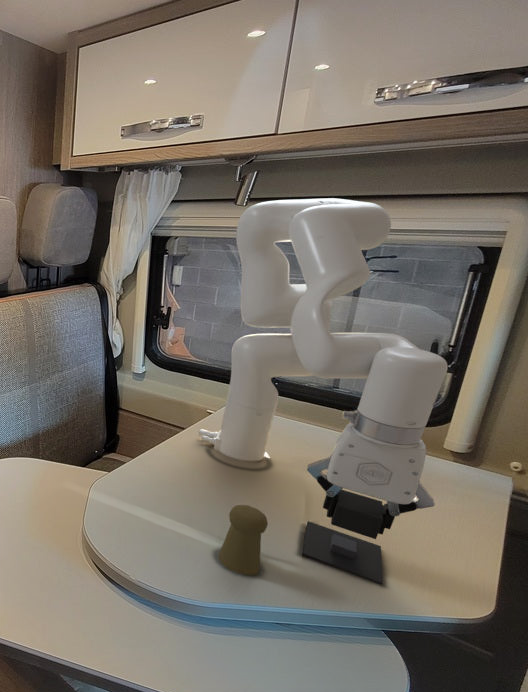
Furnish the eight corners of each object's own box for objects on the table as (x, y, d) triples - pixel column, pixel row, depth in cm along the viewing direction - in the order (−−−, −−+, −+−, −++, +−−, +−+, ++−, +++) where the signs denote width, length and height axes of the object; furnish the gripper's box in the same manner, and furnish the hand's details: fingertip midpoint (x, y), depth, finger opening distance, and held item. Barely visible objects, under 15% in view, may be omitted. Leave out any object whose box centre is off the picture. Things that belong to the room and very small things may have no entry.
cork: (252, 557, 79) (265, 503, 76) (264, 582, 74) (278, 525, 71) (213, 550, 81) (223, 496, 78) (222, 574, 76) (233, 517, 73)
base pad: (301, 557, 79) (305, 546, 78) (306, 525, 85) (309, 514, 85) (380, 588, 72) (385, 576, 71) (379, 550, 79) (383, 539, 78)
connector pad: (330, 524, 76) (337, 505, 74) (332, 507, 80) (338, 488, 78) (375, 539, 72) (383, 519, 71) (375, 520, 76) (382, 501, 75)
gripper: (313, 420, 72) (287, 511, 79) (475, 457, 62) (429, 559, 68) (316, 402, 78) (291, 489, 84) (466, 434, 67) (425, 531, 73)
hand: (353, 520), depth 76 cm, fingers closed on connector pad, 5 cm apart
